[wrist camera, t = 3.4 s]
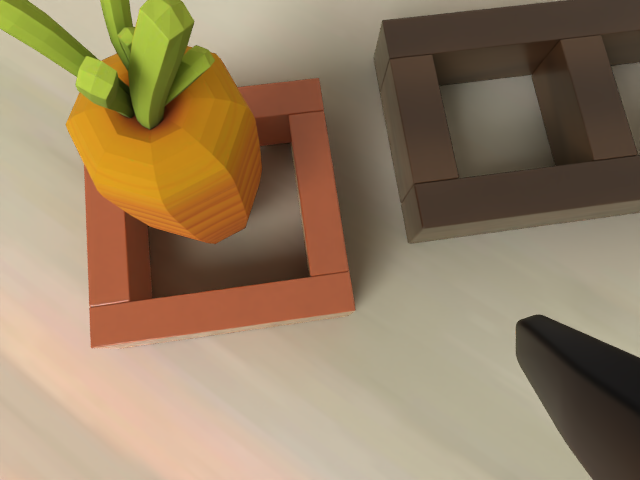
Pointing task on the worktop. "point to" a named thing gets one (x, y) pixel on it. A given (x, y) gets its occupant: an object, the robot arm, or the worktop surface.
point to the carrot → (155, 118)
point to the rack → (554, 100)
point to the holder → (238, 302)
